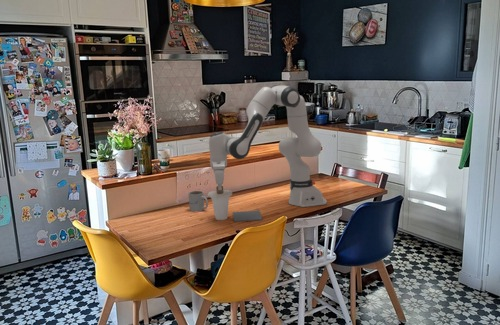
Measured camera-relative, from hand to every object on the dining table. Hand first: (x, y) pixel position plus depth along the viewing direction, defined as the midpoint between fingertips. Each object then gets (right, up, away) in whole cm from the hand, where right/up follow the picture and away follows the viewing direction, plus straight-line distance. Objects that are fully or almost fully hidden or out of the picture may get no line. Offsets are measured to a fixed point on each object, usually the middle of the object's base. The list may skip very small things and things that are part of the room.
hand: (219, 188), depth 229 cm
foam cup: (+1, -17, +3) cm, 17 cm away
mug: (-13, -14, +19) cm, 27 cm away
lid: (0, -4, +1) cm, 4 cm away
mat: (+14, -16, +4) cm, 22 cm away
